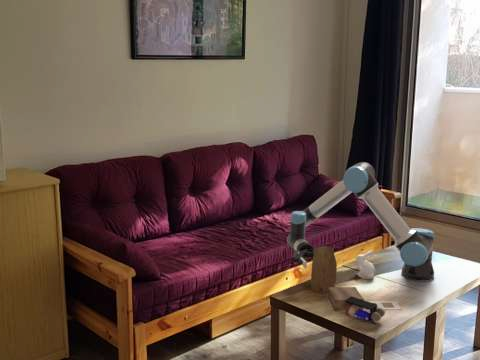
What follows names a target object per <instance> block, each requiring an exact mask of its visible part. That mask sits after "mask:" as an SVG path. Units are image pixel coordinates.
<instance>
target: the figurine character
mask: <svg viewBox="0 0 480 360" xmlns="http://www.w3.org/2000/svg"><path fill="white" fill-rule="evenodd" d="M368 301H369V300H362V299H358V298H355V297H352V296H351V297H349V298H348V299H347V300H345V302H347V303H350V304H349V305H347V307H346V309H345V311H344V312H345V313H346V315H347V316H349V317H350V318H351V317H357V318H359V319H363V320H365V321H367V322H369V323H371V324H372V325H376V323H377V321H378V322H380V320H381V319H382V318H383V317H384V316H385V315H386V310H383V309H382V308H377V304H374V303H371V302H368ZM357 306H359V307H362V308H363V310H361V309H358V308H357ZM364 309H365V310H364ZM366 309H368V310H366ZM375 322H376V323H375Z"/></svg>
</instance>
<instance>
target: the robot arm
mask: <svg viewBox="0 0 480 360" xmlns="http://www.w3.org/2000/svg"><path fill="white" fill-rule="evenodd" d="M375 177H376V173H375V168H374V167H373V166H372V165H371V164H370V163H368V162H364V161H361V162H358V163H355V164H354V165H352V166H351V167H348V169H347V170H345V173H344V174H343V179H342V180H341V181H339V182H338V183H337V184H336V185H334V186H333V187H332V188H331V189H329V190H328V191H327V192H325V193H324V194H323V195H322V196H320V197H319V198H318V199H316V200H315V201H314V202H313V203H311V204H310V205H309V206H307V207H306V208H305V209H303V210H300V211H299V210H295V211H292V212H291V213H290V218H289V221H290V222H289V224H290V226H289V235H288V236H287V239H286V241H287V244H288V246H289V248H291V249H292V250H293V256H292V263H296V265H301V266H302V267H303V268H304V269H307V264H308V263H307V261H306V259H309V258H311V259H313V256H314V250H315V248H314V247H313V246H312V244H311V243H309V242H308V240H306V238H305V237H306V227H308V226H309V225H310V224H312V223H314V222H315V221H316V220H317V219H318V218H320V217H321V216H322V215H324V214H325V213H327V212H328V211H329V210H331V209H332V208H333V207H334V206H336V205H337V204H338V203H339V202H341V201H342V200H344V199H345V198H346V197H348V196H349V195H350V194H352V193H354V195H355V196H356V197H357V199H361V200H363V201H364V202H365V204H366V205H367V207H369V209H370V210H371V211H372V213H373V214H374V215H375V216H376V218H377V219H378V220H379V222H380V223H381V224H382V225H383V227H384V228H385V229H386V230H387V232H388V233H389V235H390V236H391V237H392V238H393V239H394V246H395V247H396V248H397V250H398V251H399V256H400V258H401V260H402V262H403V266H402V267H401V272H400V273H401V275H402V276H403V277H405V278H407V279H410V280H413V281H419V282H427V281H432V280H434V279H435V270H434V266H433V263H432V261H433V253H434V252H433V251H434V250H433V249H434V240H435V232H434V231H432V230H430V229H425V228H420V227H417V228H416V227H413V228H411V227H409V226H408V224H407V223H406V221H405V220H404V219H403V218H402V217H401V215H400V214H399V213H398V212H397V210H396V209H395V208H394V206H393V204H391V202H390V201H389V200H388V199H387V198H386V196H385V195H384V193H382V191H381V190H380V188H379V182H378V181H377V180H376V178H375Z"/></svg>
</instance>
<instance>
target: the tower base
mask: <svg viewBox="0 0 480 360" xmlns="http://www.w3.org/2000/svg"><path fill="white" fill-rule="evenodd" d="M351 296H352V297H355V298H358V299H362V300H364V298H363V296H362V295H361V293H360V292H359V290H358V289H357V287H355V286H340V287H339V286H338V287H337V286H334V287H328V293H327V300H328V302H329V304H330V305H331V307H332V309H333V311H334V312H346V311H345V309H346V307H347V305H349V304H350V303H347V302H345V300H347V299H348V298H349V297H351ZM357 308H358V309H361V310H364V308H362V307H359V306H357Z"/></svg>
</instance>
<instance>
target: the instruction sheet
mask: <svg viewBox="0 0 480 360" xmlns="http://www.w3.org/2000/svg"><path fill="white" fill-rule="evenodd" d="M367 301H368V302H371V303H374V304H377V308H382V309H383V310H384V311H400V310H402V308H401V307H400V305H399V304H398V303H397V301H395V300H376V301H375V300H371V301H370V300H367ZM365 311H369V310H368V309H365Z"/></svg>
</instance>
